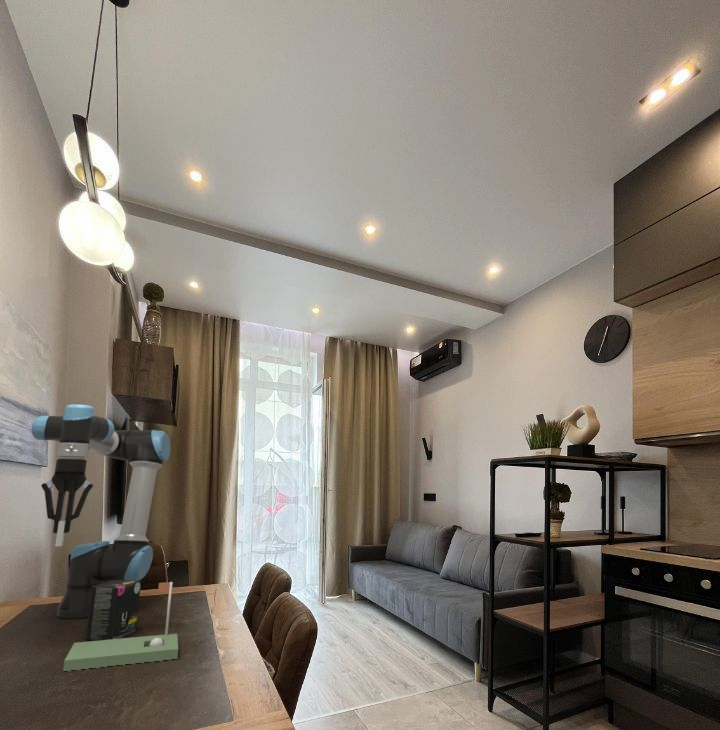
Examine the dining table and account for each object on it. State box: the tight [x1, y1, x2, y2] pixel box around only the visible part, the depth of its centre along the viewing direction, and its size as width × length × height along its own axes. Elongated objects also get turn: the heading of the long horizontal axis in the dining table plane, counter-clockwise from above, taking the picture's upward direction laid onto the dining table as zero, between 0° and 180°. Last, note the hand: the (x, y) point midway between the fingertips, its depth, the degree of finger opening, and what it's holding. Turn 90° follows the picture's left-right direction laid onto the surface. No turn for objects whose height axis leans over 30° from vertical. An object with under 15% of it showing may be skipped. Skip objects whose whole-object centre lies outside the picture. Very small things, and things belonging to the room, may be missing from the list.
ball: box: [149, 638, 163, 646], centre depth 131 cm, size 4×4×4 cm
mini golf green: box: [62, 581, 179, 672], centre depth 130 cm, size 14×26×16 cm, turn 111°
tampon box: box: [85, 580, 142, 641], centre depth 146 cm, size 11×9×15 cm
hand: (59, 545), depth 133 cm, fingers closed
